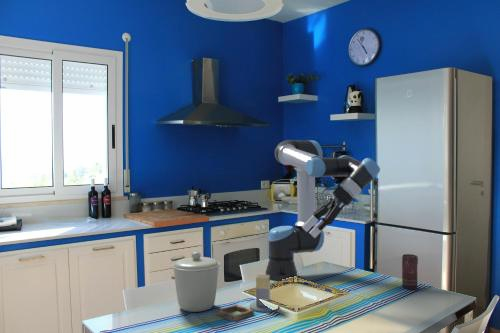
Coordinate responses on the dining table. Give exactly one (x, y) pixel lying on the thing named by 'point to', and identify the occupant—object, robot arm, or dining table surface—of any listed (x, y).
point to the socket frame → (225, 314)
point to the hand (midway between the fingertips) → (307, 232)
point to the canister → (196, 282)
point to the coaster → (258, 309)
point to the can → (409, 271)
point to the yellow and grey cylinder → (262, 289)
